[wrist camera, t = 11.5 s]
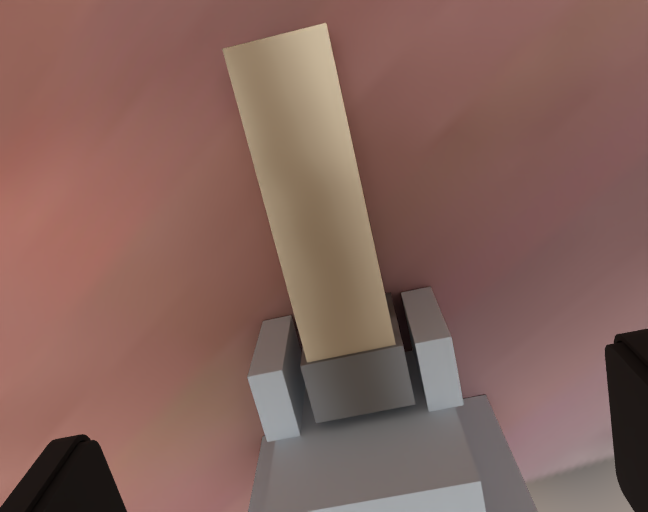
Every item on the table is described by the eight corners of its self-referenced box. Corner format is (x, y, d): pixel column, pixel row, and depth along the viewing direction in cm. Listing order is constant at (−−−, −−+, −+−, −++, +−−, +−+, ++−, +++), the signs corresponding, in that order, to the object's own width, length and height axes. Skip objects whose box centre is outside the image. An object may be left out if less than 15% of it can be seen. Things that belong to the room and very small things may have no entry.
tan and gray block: (334, 28, 28) (333, 20, 22) (401, 342, 33) (415, 404, 27) (239, 52, 28) (213, 50, 22) (319, 358, 33) (315, 423, 27)
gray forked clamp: (229, 328, 33) (164, 492, 20) (466, 279, 31) (550, 421, 19) (267, 453, 35) (231, 668, 23) (488, 412, 34) (576, 614, 22)
